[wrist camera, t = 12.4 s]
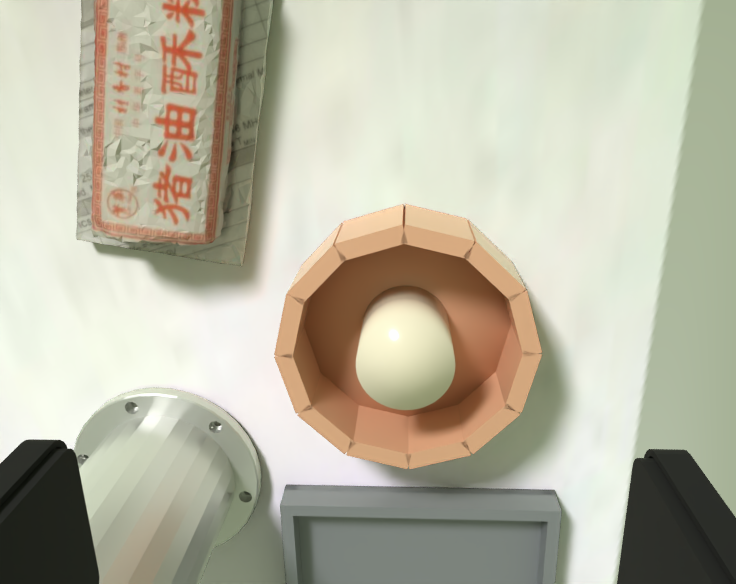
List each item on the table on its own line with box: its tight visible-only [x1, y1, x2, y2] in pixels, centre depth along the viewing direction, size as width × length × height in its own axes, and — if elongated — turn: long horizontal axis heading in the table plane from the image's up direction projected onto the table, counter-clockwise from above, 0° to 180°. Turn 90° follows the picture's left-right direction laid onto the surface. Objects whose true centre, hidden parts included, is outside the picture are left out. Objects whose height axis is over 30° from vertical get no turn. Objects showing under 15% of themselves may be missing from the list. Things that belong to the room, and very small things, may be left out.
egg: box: [356, 285, 455, 410], centre depth 37 cm, size 5×5×6 cm
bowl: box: [274, 204, 542, 469], centre depth 38 cm, size 14×14×5 cm
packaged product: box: [76, 0, 273, 267], centre depth 35 cm, size 18×5×10 cm
